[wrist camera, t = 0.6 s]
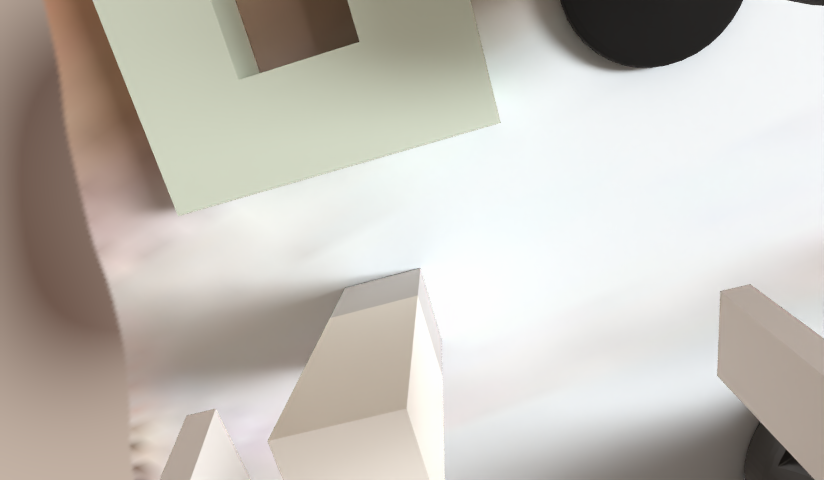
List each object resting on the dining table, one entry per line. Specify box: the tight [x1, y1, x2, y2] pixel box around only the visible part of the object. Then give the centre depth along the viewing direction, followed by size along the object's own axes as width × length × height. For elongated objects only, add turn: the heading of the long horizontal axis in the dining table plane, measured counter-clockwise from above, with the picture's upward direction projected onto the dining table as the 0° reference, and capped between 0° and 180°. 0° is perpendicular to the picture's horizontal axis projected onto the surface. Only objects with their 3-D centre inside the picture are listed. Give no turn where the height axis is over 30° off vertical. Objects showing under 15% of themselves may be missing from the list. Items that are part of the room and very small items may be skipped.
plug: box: [268, 268, 445, 480], centre depth 26 cm, size 5×5×16 cm
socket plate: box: [93, 0, 500, 216], centre depth 28 cm, size 18×18×4 cm
